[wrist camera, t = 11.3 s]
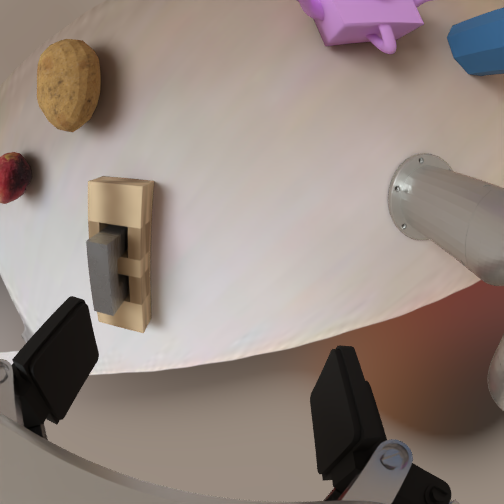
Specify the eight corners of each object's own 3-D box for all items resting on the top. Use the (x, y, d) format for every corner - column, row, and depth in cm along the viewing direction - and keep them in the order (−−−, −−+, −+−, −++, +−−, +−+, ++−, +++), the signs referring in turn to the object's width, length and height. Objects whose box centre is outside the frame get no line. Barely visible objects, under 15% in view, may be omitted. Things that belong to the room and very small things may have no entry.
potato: (71, 143, 32) (36, 149, 25) (54, 67, 27) (21, 61, 19) (123, 113, 31) (92, 111, 23) (103, 34, 26) (74, 18, 18)
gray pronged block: (115, 220, 36) (86, 241, 29) (134, 223, 36) (107, 245, 29) (117, 282, 40) (94, 310, 32) (134, 286, 40) (113, 315, 33)
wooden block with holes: (154, 181, 34) (142, 186, 31) (151, 318, 43) (143, 333, 39) (103, 176, 34) (88, 181, 30) (108, 307, 43) (98, 321, 39)
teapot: (363, 84, 29) (402, 68, 19) (273, 28, 26) (279, -11, 16) (407, 18, 24) (447, -7, 14) (328, -34, 21) (347, -74, 11)
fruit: (12, 152, 32) (-20, 160, 24) (38, 146, 32) (4, 152, 24) (15, 195, 35) (-16, 208, 27) (41, 193, 35) (9, 206, 27)
